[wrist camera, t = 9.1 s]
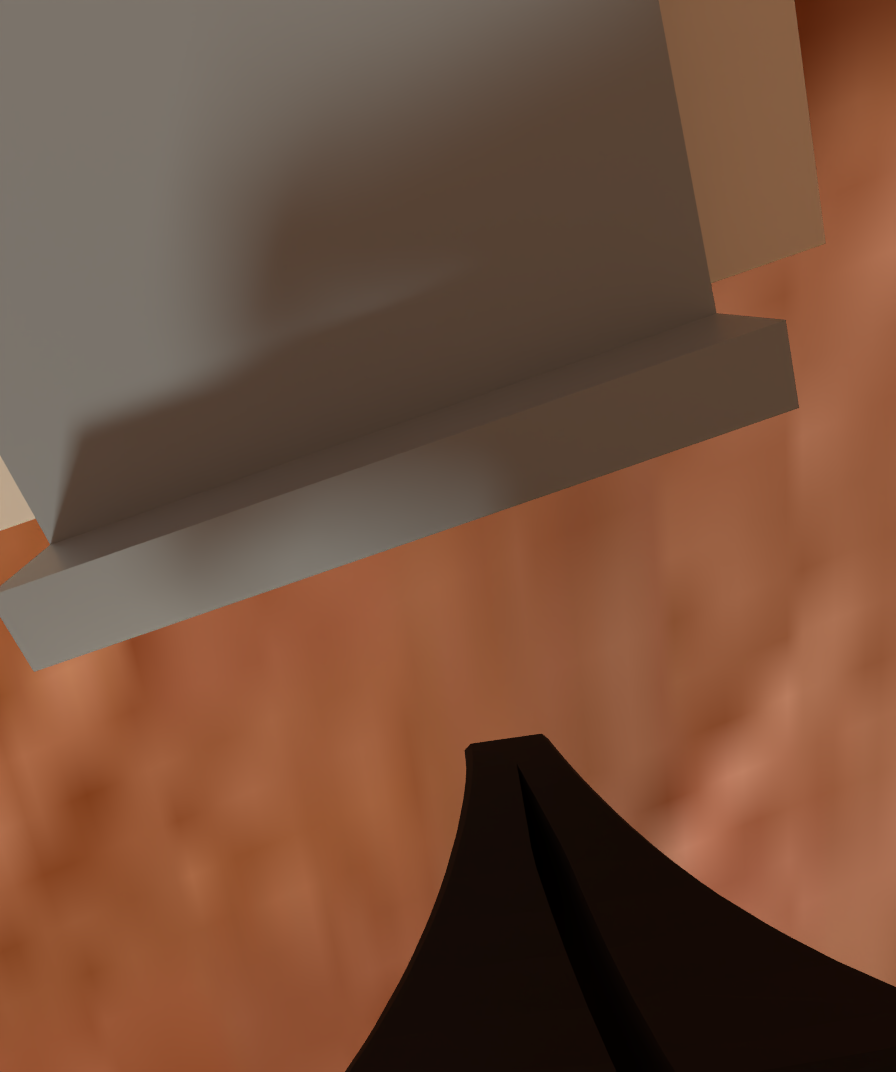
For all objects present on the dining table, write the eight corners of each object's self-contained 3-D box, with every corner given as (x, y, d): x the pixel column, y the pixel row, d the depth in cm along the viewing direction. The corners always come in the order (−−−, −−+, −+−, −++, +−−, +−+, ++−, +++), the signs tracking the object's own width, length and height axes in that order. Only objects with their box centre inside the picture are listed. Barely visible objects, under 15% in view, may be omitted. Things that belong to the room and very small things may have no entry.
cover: (103, 589, 13) (34, 671, 10) (-326, -193, 9) (-623, -395, 6) (708, 381, 12) (799, 407, 10) (535, -506, 9) (607, -849, 6)
